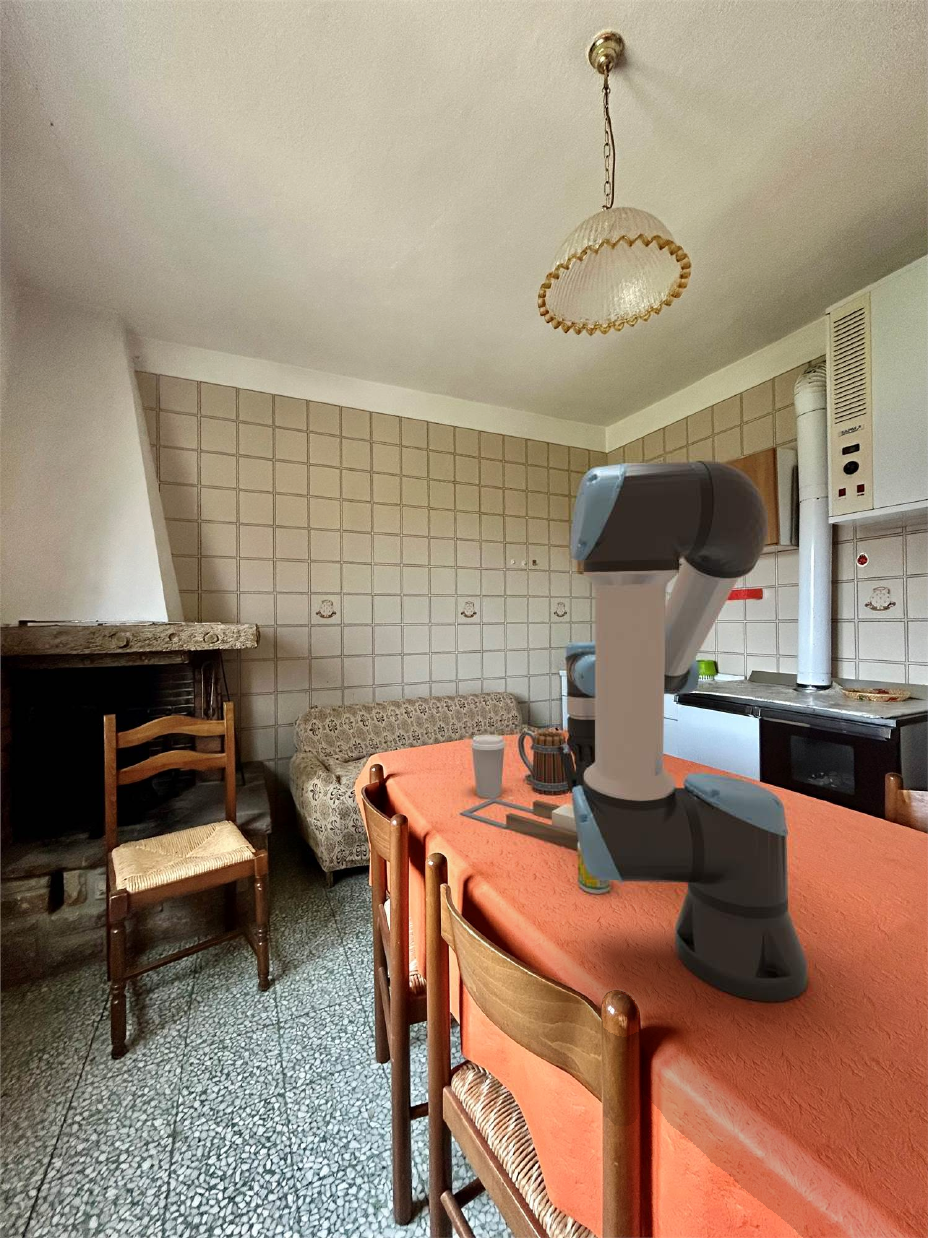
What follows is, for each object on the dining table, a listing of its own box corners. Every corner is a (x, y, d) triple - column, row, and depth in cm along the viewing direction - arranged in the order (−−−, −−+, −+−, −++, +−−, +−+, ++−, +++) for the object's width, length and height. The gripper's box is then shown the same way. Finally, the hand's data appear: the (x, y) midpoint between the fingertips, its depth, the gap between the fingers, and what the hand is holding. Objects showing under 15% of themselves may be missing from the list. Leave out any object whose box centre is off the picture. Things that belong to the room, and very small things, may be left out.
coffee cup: (463, 796, 130) (463, 739, 130) (483, 786, 138) (482, 732, 138) (494, 803, 124) (493, 743, 125) (513, 792, 132) (512, 736, 133)
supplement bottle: (608, 897, 80) (607, 838, 81) (575, 891, 82) (574, 833, 83) (612, 881, 85) (611, 826, 86) (581, 876, 87) (580, 821, 88)
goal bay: (505, 829, 108) (505, 827, 108) (459, 814, 117) (459, 813, 117) (537, 812, 118) (537, 810, 118) (493, 799, 127) (493, 798, 127)
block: (577, 843, 100) (577, 818, 101) (552, 835, 104) (551, 811, 104) (591, 833, 105) (590, 810, 105) (566, 826, 109) (566, 803, 109)
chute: (599, 858, 94) (598, 842, 94) (506, 828, 109) (506, 815, 109) (625, 837, 103) (625, 822, 103) (536, 812, 118) (536, 800, 118)
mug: (577, 788, 135) (576, 733, 135) (556, 798, 127) (555, 740, 127) (530, 777, 145) (529, 726, 146) (508, 786, 138) (507, 732, 138)
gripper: (623, 716, 101) (625, 832, 101) (567, 710, 110) (569, 816, 109) (606, 722, 96) (609, 844, 95) (549, 715, 104) (551, 827, 104)
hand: (588, 829), depth 102 cm, fingers closed
